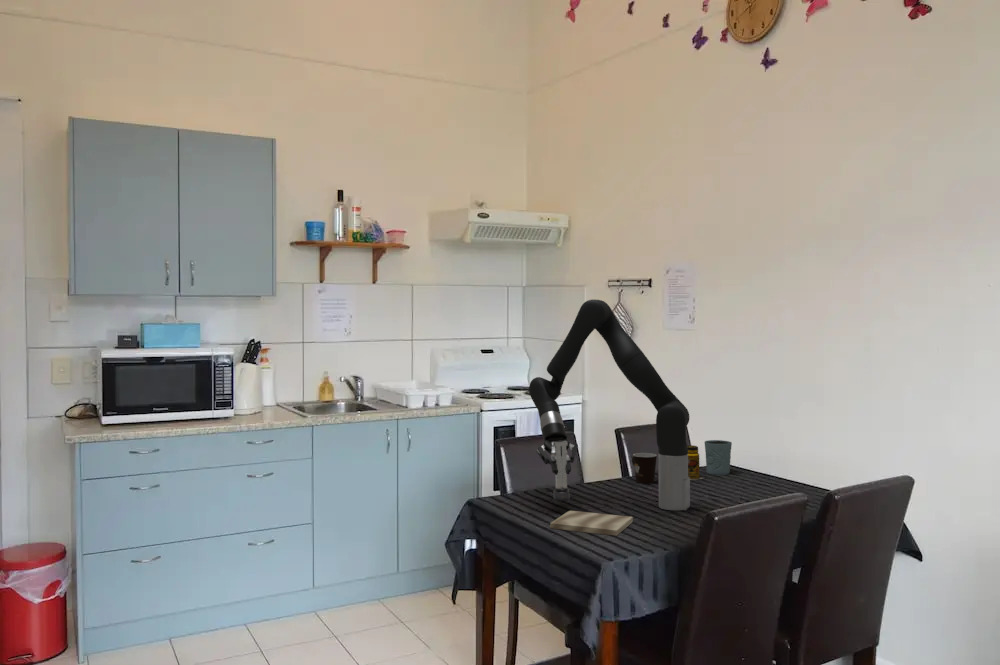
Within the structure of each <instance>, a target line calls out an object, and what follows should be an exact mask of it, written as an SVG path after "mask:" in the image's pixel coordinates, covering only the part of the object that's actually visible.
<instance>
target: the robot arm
mask: <svg viewBox="0 0 1000 665" xmlns="http://www.w3.org/2000/svg"><path fill="white" fill-rule="evenodd" d="M576 314H577V315H576V316H575V319H574V322H573V324H572V326H571V327H570V330H569V331H568V334H567V335H566V337H565V338H564V340H563V342H562V343H561V345H560V347H559V348H558V350H557V351H556V353H555V354H554V356H553V357H552V359H551V360H550V362H549V363H548V365H547V366H546V371H547V373H548V374H549V375H550V376H551V377H552V378H551V379H550V380H548V379H546V378H543V377H540V376H537V377H534V378H532V380H531V381H530V382H529V388H528V390H529V391H528V392H529V396H530V399H531V400H532V402H533V404H534V406H535V407H536V410H537V412H538V416H539V422H540V423H539V424H540V431H541V435H542V440H543V444H542V445H537V447H536V454H538V456H539V458H540V459H541V460H542V461H543V463H544V464H545V465H550V467H551V471H552V473H553V474H554V475H557V474H558V468H557V464H556V461H555V446H554V445H553V441H567V443H568V446H566V462H567V464H566V469H567V475H570V473H571V471H572V463H574V462H575V458H576V455H577V451H578V446H579V445H578V443H574V444H572V443H570V441H569V440H568V437H567V434H566V432H567V431H566V427H565V424H564V420H563V417H562V415H561V410H560V407H559V404H558V402H557V401H556V400H557V399H558V398H559V396H560V395H561V391H562V387H563V385H564V382H565V379H566V376H567V375H568V373H569V372H570V371H571V369H572V368H573V366H574V364H575V363H576V361H577V359H578V357H579V355H580V352H581V350H582V348H583V346H584V344H585V342H586V340H587V339H588V337H589V336H590V335H591V334H592V333H593V332H594V331H595V330H596V331H597V333H598V334H599V335H600V337H602V339H603V340H604V341H605V343H606V344H607V346H608V349H609V351H610V354H611V356H612V359H613V360H614V362H615V363H616V365H617V367H618V369H619V370H620V371H621V373H622V374H623V376H624V377H625V378H626V379H627V380H628V382H629V383H631V385H632V386H634V387H635V388H636V389H637V390H638V391H639V392H641V394H642V395H644V396H645V397H646V398H647V399H648V400H649V401H650V403H651V404H652V405H653V407H654V408H655V410H656V411H657V414H656V417H655V418H656V419H655V428H656V429H655V430H656V433H655V435H656V436H655V437H656V445H657V447H658V448H657V449H658V450H657V451H658V452H657V454H658V455H657V457H658V507H659V509H662V510H666V511H667V510H668V511H687V510H688V509H689V508H690V507H691V488H690V487H691V480H690V477H688V444H687V436H686V431H687V430H686V428H687V426H688V424H689V423H690V413H689V410H688V408H687V406H686V405H684V404H683V403H682V401H681V400H680V399H679V398H678V397H677V396H676V395H675V394H674V393H673V392H672V390H670V388H669V387H668V386H667V385H666V383H665V382H664V381H663V379H662V377H661V375H660V374H659V373H658V372H657V370H656V369H655V367H654V365H653V364H652V363H651V361H650V360H649V358H648V357H647V356H646V354H644V352H643V351H642V349H641V348H640V347H639V346H638V344H637V343H636V342H635V341H634V340H633V338H632V337H631V336H630V335H629V334H628V333H627V332H626V330H625V329H624V328H623V326H622V325H621V324H620V322H619V320H618V318H617V317H616V314H615V313H614V312H613V310H612V309H611V307H610V306H609V304H608V303H607V302H606V301H604V300H601V299H589V300H586V301H585V302H583V304H582V305H581V306H580V308H579V310H578V313H576ZM568 449H570V450H569V451H570V452H571V455H570V456H569V453H568ZM546 452H547V453H548V454H550V455H548V454H547V453H546ZM549 456H550V457H549Z"/></svg>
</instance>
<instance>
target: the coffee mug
mask: <svg viewBox="0 0 1000 665" xmlns="http://www.w3.org/2000/svg"><path fill="white" fill-rule="evenodd" d="M657 457H658V455H657V454H656V453H650V452H637V453H633V454H632V457H631V458H632V459H631V462H632V465H633V467H634V468H633V469H634V476H635V483H637V482H638V483H637V484H640V483H644V484H643V485H651V484H650V483H652V484H654V483H655V476H656V466H657Z"/></svg>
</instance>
